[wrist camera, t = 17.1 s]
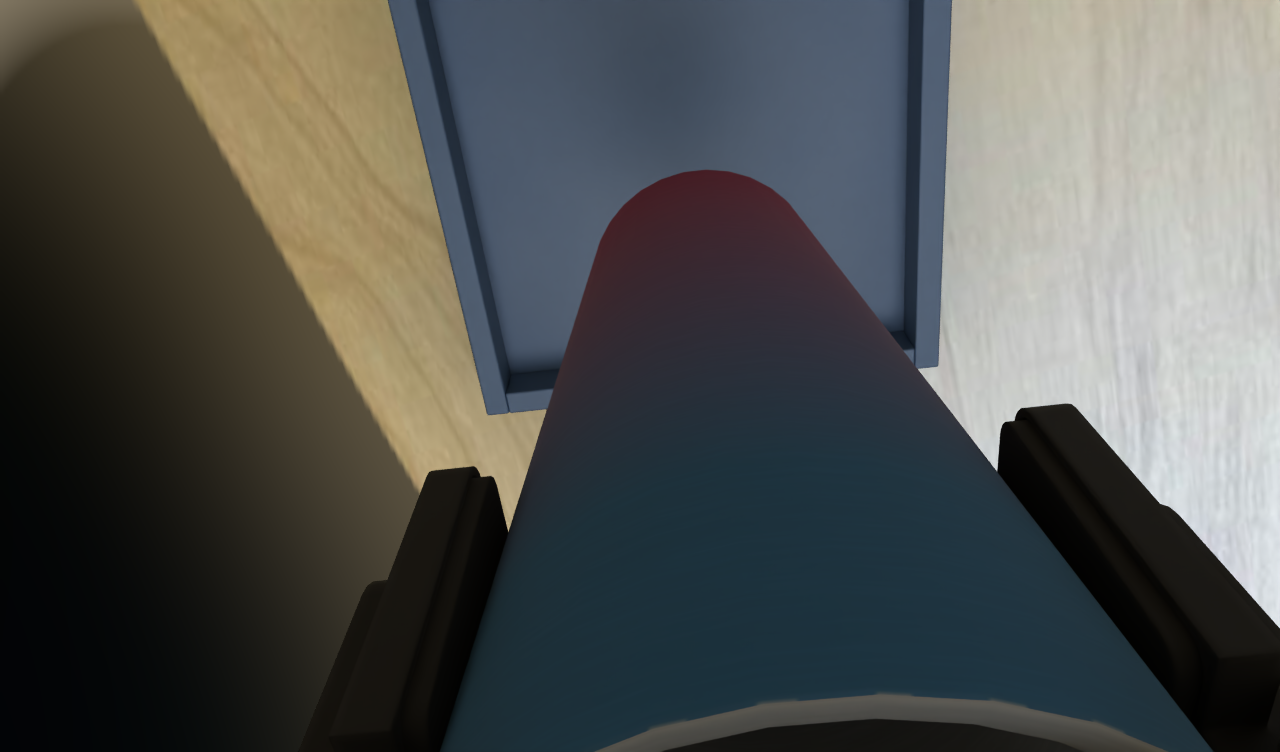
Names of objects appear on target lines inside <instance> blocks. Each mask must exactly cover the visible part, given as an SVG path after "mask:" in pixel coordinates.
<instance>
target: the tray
mask: <svg viewBox="0 0 1280 752" xmlns="http://www.w3.org/2000/svg"><path fill="white" fill-rule="evenodd" d="M388 3H389V8H390V12H391V16H392V20H393V24H394V28H395V33H396V37H397V41H398V45H399V49H400V53H401V58H402V62H403V66H404V70H405V74H406V78H407V83H408V87H409V91H410V95H411V99H412V103H413V108H414V112H415V116H416V120H417V124H418V128H419V133H420V137H421V141H422V145H423V149H424V153H425V157H426V162H427V166H428V170H429V174H430V178H431V182H432V187H433V191H434V195H435V199H436V203H437V207H438V212H439V216H440V220H441V224H442V228H443V232H444V237H445V241H446V245H447V249H448V253H449V257H450V262H451V266H452V270H453V274H454V278H455V282H456V287H457V291H458V295H459V299H460V303H461V307H462V311H463V316H464V320H465V324H466V328H467V332H468V336H469V341H470V345H471V349H472V353H473V357H474V361H475V366H476V370H477V374H478V378H479V382H480V386H481V391H482V395H483V399H484V403H485V407H486V411H487V414H488V415H496V414H505V413H509V411H510V413H515V412H524V411H533V410H542V409H547V408H548V405H549V402H550V399H551V395H552V392H553V389H554V386H555V383H556V380H557V376H558V373H559V370H560V367H561V364H562V360H563V357H564V354H565V351H566V348H567V345H568V341H569V338H570V335H571V332H572V329H573V325H574V322H575V319H576V316H577V313H578V310H579V306H580V303H581V300H582V297H583V294H584V290H585V287H586V284H587V281H588V278H589V274H590V271H591V268H592V265H593V262H594V259H595V255H596V252H597V249H598V246H599V243H600V240H601V238H602V236H603V234H604V232H605V230H606V228H607V226H608V224H609V223H610V221H611V220H612V219H613V217H614V216H615V215H616V214H617V212H618V211H619V210H620V209H621V207H622V206H623V205H624V204H625V203H626V202H628V201H629V200H630V199H631V198H632V197H633V196H635V195H636V194H637V193H638V192H639V191H641V190H642V189H644V188H646V187H648V186H650V185H651V184H653V183H655V182H657V181H659V180H661V179H663V178H667V177H670V176H673V175H676V174H679V173H682V172H689V171H698V170H719V171H730V172H733V173H737V174H740V175H744V176H747V177H751V178H753V179H755V180H757V181H759V182H761V183H762V184H764V185H766V186H768V187H770V188H772V189H773V190H774V191H775V192H776V193H778V194H779V195H780V196H781V197H783V198H784V199H785V200H786V201H787V202H788V203H789V204H790V205H791V206H792V208H793V209H794V210H795V211H796V213H797V214H798V215H799V217H800V218H801V219H802V220H803V222H804V223H805V224H806V226H807V227H808V228H809V229H810V231H811V232H812V233H813V235H814V236H815V237H816V238H817V240H818V241H819V242H820V244H821V245H822V246H823V247H824V249H825V250H826V251H827V253H828V254H829V255H830V257H831V258H832V259H833V260H834V262H835V263H836V264H837V266H838V267H839V268H840V269H841V271H842V272H843V273H844V275H845V276H846V277H847V278H848V280H849V281H850V282H851V284H852V285H853V286H854V288H855V289H856V290H857V291H858V293H859V294H860V295H861V297H862V298H863V299H864V300H865V302H866V303H867V304H868V306H869V307H870V308H871V310H872V311H873V312H874V313H875V315H876V316H877V317H878V319H879V320H880V321H881V322H882V324H883V325H884V326H885V328H886V329H887V330H888V331H889V333H890V334H891V335H892V337H893V338H894V339H895V341H896V342H897V343H898V344H899V346H900V347H901V348H902V350H903V351H904V352H905V353H906V355H907V356H908V357H909V359H910V360H911V361H912V363H913V364H914V365H915V366H916V368H917V369H920V368H930V367H937V366H938V361H939V334H940V307H941V280H942V253H943V226H944V199H945V172H946V145H947V118H948V91H949V64H950V38H951V11H952V0H388Z"/></svg>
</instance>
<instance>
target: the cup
mask: <svg viewBox="0 0 1280 752" xmlns="http://www.w3.org/2000/svg"><path fill="white" fill-rule="evenodd" d="M440 752H1213V750H1212V749H1211V748H1210V746H1209V745H1208V744H1207V742H1206V741H1205V740H1204V739H1203V737H1202V736H1201V735H1200V733H1199V732H1198V731H1197V730H1196V728H1195V727H1194V726H1193V724H1192V723H1191V722H1190V721H1189V719H1188V718H1187V717H1186V715H1185V714H1184V713H1183V711H1182V710H1181V709H1180V708H1179V706H1178V705H1177V704H1176V702H1175V701H1174V700H1173V699H1172V697H1171V696H1170V695H1169V693H1168V692H1167V691H1166V689H1165V688H1164V687H1163V686H1162V684H1161V683H1160V682H1159V680H1158V679H1157V678H1156V677H1155V675H1154V674H1153V673H1152V671H1151V670H1150V669H1149V668H1148V666H1147V665H1146V664H1145V662H1144V661H1143V660H1142V658H1141V657H1140V656H1139V655H1138V653H1137V652H1136V651H1135V649H1134V648H1133V647H1132V646H1131V644H1130V643H1129V642H1128V640H1127V639H1126V638H1125V637H1124V635H1123V634H1122V633H1121V631H1120V630H1119V629H1118V627H1117V626H1116V625H1115V624H1114V622H1113V621H1112V620H1111V618H1110V617H1109V616H1108V615H1107V613H1106V612H1105V611H1104V609H1103V608H1102V607H1101V605H1100V604H1099V603H1098V602H1097V600H1096V599H1095V598H1094V596H1093V595H1092V594H1091V593H1090V591H1089V590H1088V589H1087V587H1086V586H1085V585H1084V584H1083V582H1082V581H1081V580H1080V578H1079V577H1078V576H1077V574H1076V573H1075V572H1074V571H1073V569H1072V568H1071V567H1070V565H1069V564H1068V563H1067V562H1066V560H1065V559H1064V558H1063V556H1062V555H1061V554H1060V552H1059V551H1058V550H1057V549H1056V547H1055V546H1054V545H1053V543H1052V542H1051V541H1050V540H1049V538H1048V537H1047V536H1046V534H1045V533H1044V532H1043V531H1042V529H1041V528H1040V527H1039V525H1038V524H1037V523H1036V521H1035V520H1034V519H1033V518H1032V516H1031V515H1030V514H1029V512H1028V511H1027V510H1026V509H1025V507H1024V506H1023V505H1022V503H1021V502H1020V501H1019V500H1018V498H1017V497H1016V496H1015V494H1014V493H1013V492H1012V490H1011V489H1010V488H1009V487H1008V485H1007V484H1006V483H1005V481H1004V480H1003V479H1002V478H1001V476H1000V475H999V474H998V472H997V471H996V470H995V468H994V467H993V466H992V465H991V463H990V462H989V461H988V459H987V458H986V457H985V456H984V454H983V453H982V452H981V450H980V449H979V448H978V447H977V445H976V444H975V443H974V441H973V440H972V439H971V437H970V436H969V435H968V434H967V432H966V431H965V430H964V428H963V427H962V426H961V425H960V423H959V422H958V421H957V419H956V418H955V417H954V415H953V414H952V413H951V412H950V410H949V409H948V408H947V406H946V405H945V404H944V403H943V401H942V400H941V399H940V397H939V396H938V395H937V394H936V392H935V391H934V390H933V388H932V387H931V386H930V384H929V383H928V382H927V381H926V379H925V378H924V377H923V375H922V374H921V373H920V372H919V370H918V369H917V368H916V366H915V365H914V364H913V363H912V361H911V360H910V359H909V357H908V356H907V355H906V353H905V352H904V351H903V350H902V348H901V347H900V346H899V344H898V343H897V342H896V341H895V339H894V338H893V337H892V335H891V334H890V333H889V331H888V330H887V329H886V328H885V326H884V325H883V324H882V322H881V321H880V320H879V319H878V317H877V316H876V315H875V313H874V312H873V311H872V310H871V308H870V307H869V306H868V304H867V303H866V302H865V300H864V299H863V298H862V297H861V295H860V294H859V293H858V291H857V290H856V289H855V288H854V286H853V285H852V284H851V282H850V281H849V280H848V278H847V277H846V276H845V275H844V273H843V272H842V271H841V269H840V268H839V267H838V266H837V264H836V263H835V262H834V260H833V259H832V258H831V257H830V255H829V254H828V253H827V251H826V250H825V249H824V247H823V246H822V245H821V244H820V242H819V241H818V240H817V238H816V237H815V236H814V235H813V233H812V232H811V231H810V229H809V228H808V227H807V226H806V224H805V223H804V222H803V220H802V219H801V218H800V217H799V215H798V214H797V213H796V211H795V210H794V209H793V208H792V206H791V205H790V204H789V203H788V202H787V201H786V200H785V199H784V198H783V197H781V196H780V195H779V194H778V193H776V192H775V191H774V190H773V189H772V188H770V187H768V186H766V185H764V184H762V183H761V182H759V181H757V180H755V179H753V178H751V177H747V176H744V175H740V174H737V173H733V172H730V171H719V170H698V171H689V172H682V173H679V174H676V175H673V176H670V177H667V178H663V179H661V180H659V181H657V182H655V183H653V184H651V185H650V186H648V187H646V188H644V189H642V190H641V191H639V192H638V193H637V194H636V195H635V196H633V197H632V198H631V199H630V200H629V201H628V202H626V203H625V204H624V205H623V206H622V207H621V209H620V210H619V211H618V212H617V214H616V215H615V216H614V217H613V219H612V220H611V221H610V223H609V224H608V226H607V228H606V230H605V232H604V234H603V236H602V238H601V240H600V243H599V246H598V249H597V252H596V255H595V259H594V262H593V265H592V268H591V271H590V274H589V278H588V281H587V284H586V287H585V290H584V294H583V297H582V300H581V303H580V306H579V310H578V313H577V316H576V319H575V322H574V325H573V329H572V332H571V335H570V338H569V341H568V345H567V348H566V351H565V354H564V357H563V360H562V364H561V367H560V370H559V373H558V376H557V380H556V383H555V386H554V389H553V392H552V395H551V399H550V402H549V405H548V408H547V411H546V415H545V418H544V421H543V424H542V427H541V431H540V434H539V437H538V440H537V443H536V446H535V450H534V453H533V456H532V459H531V462H530V466H529V469H528V472H527V475H526V478H525V481H524V485H523V488H522V491H521V494H520V497H519V501H518V504H517V507H516V510H515V513H514V516H513V520H512V523H511V526H510V529H509V532H508V536H507V539H506V542H505V545H504V548H503V552H502V555H501V558H500V561H499V564H498V567H497V571H496V574H495V577H494V580H493V583H492V587H491V590H490V593H489V596H488V599H487V602H486V606H485V609H484V612H483V615H482V618H481V622H480V625H479V628H478V631H477V634H476V638H475V641H474V644H473V647H472V650H471V653H470V657H469V660H468V663H467V666H466V669H465V673H464V676H463V679H462V682H461V685H460V688H459V692H458V695H457V698H456V701H455V704H454V708H453V711H452V714H451V717H450V720H449V723H448V727H447V730H446V733H445V736H444V739H443V743H442V746H441V749H440Z"/></svg>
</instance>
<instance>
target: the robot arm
mask: <svg viewBox="0 0 1280 752" xmlns="http://www.w3.org/2000/svg"><path fill="white" fill-rule="evenodd" d="M997 472H998V474H999V475H1000V476H1001V478H1002V479H1003V480H1004V481H1005V483H1006V484H1007V485H1008V487H1009V488H1010V489H1011V490H1012V492H1013V493H1014V494H1015V496H1016V497H1017V498H1018V500H1019V501H1020V502H1021V503H1022V505H1023V506H1024V507H1025V509H1026V510H1027V511H1028V512H1029V514H1030V515H1031V516H1032V518H1033V519H1034V520H1035V521H1036V523H1037V524H1038V525H1039V527H1040V528H1041V529H1042V531H1043V532H1044V533H1045V534H1046V536H1047V537H1048V538H1049V540H1050V541H1051V542H1052V543H1053V545H1054V546H1055V547H1056V549H1057V550H1058V551H1059V552H1060V554H1061V555H1062V556H1063V558H1064V559H1065V560H1066V562H1067V563H1068V564H1069V565H1070V567H1071V568H1072V569H1073V571H1074V572H1075V573H1076V574H1077V576H1078V577H1079V578H1080V580H1081V581H1082V582H1083V584H1084V585H1085V586H1086V587H1087V589H1088V590H1089V591H1090V593H1091V594H1092V595H1093V596H1094V598H1095V599H1096V600H1097V602H1098V603H1099V604H1100V605H1101V607H1102V608H1103V609H1104V611H1105V612H1106V613H1107V615H1108V616H1109V617H1110V618H1111V620H1112V621H1113V622H1114V624H1115V625H1116V626H1117V627H1118V629H1119V630H1120V631H1121V633H1122V634H1123V635H1124V637H1125V638H1126V639H1127V640H1128V642H1129V643H1130V644H1131V646H1132V647H1133V648H1134V649H1135V651H1136V652H1137V653H1138V655H1139V656H1140V657H1141V658H1142V660H1143V661H1144V662H1145V664H1146V665H1147V666H1148V668H1149V669H1150V670H1151V671H1152V673H1153V674H1154V675H1155V677H1156V678H1157V679H1158V680H1159V682H1160V683H1161V684H1162V686H1163V687H1164V688H1165V689H1166V691H1167V692H1168V693H1169V695H1170V696H1171V697H1172V699H1173V700H1174V701H1175V702H1176V704H1177V705H1178V706H1179V708H1180V709H1181V710H1182V711H1183V713H1184V714H1185V715H1186V717H1187V718H1188V719H1189V721H1190V722H1191V723H1192V724H1193V726H1194V727H1195V728H1196V730H1197V731H1198V732H1199V733H1200V735H1201V736H1202V737H1203V739H1204V740H1205V741H1206V742H1207V744H1208V745H1209V746H1210V748H1211V749H1212V750H1213V752H1280V628H1279V627H1278V626H1277V625H1276V624H1275V623H1274V622H1273V620H1272V619H1271V618H1270V617H1269V616H1268V615H1267V614H1266V613H1265V611H1264V610H1263V609H1262V608H1261V607H1260V606H1259V605H1258V604H1257V602H1256V601H1255V600H1254V599H1253V598H1252V597H1251V596H1250V595H1249V593H1248V592H1247V591H1246V590H1245V589H1244V588H1243V587H1242V585H1241V584H1240V583H1239V582H1238V581H1237V580H1236V579H1235V578H1234V576H1233V575H1232V574H1231V573H1230V572H1229V571H1228V570H1227V569H1226V567H1225V566H1224V565H1223V564H1222V563H1221V562H1220V561H1219V560H1218V558H1217V557H1216V556H1215V555H1214V554H1213V553H1212V552H1211V551H1210V549H1209V548H1208V547H1207V546H1206V545H1205V544H1204V543H1203V542H1202V540H1201V539H1200V538H1199V537H1198V536H1197V535H1196V534H1195V533H1194V531H1193V530H1192V529H1191V528H1190V527H1189V526H1188V525H1187V524H1186V522H1185V521H1184V520H1183V519H1182V518H1181V517H1180V516H1179V515H1178V514H1177V513H1176V512H1175V511H1174V510H1172V509H1171V508H1170V507H1168V506H1165V505H1162V504H1160V503H1159V502H1158V501H1157V500H1156V499H1155V498H1154V497H1153V495H1152V494H1151V493H1150V492H1149V491H1148V490H1147V489H1146V487H1145V486H1144V485H1143V484H1142V483H1141V482H1140V481H1139V479H1138V478H1137V477H1136V476H1135V475H1134V474H1133V472H1132V471H1131V470H1130V469H1129V468H1128V467H1127V466H1126V464H1125V463H1124V462H1123V461H1122V460H1121V459H1120V458H1119V456H1118V455H1117V454H1116V453H1115V452H1114V451H1113V450H1112V448H1111V447H1110V446H1109V445H1108V444H1107V443H1106V442H1105V440H1104V439H1103V438H1102V437H1101V436H1100V435H1099V434H1098V432H1097V431H1096V430H1095V429H1094V428H1093V427H1092V426H1091V424H1090V423H1089V422H1088V421H1087V420H1086V419H1085V418H1084V416H1083V415H1082V414H1081V413H1080V412H1079V411H1078V409H1077V408H1076V407H1074V406H1073V405H1072V404H1058V405H1048V406H1039V407H1029V408H1021V409H1020V410H1019V411H1018V412H1017V414H1016V417H1015V421H1010V422H1005V423H1004V424H1003V425H1002V428H1001V433H1000V444H999V457H998V470H997ZM507 536H508V529H507V525H506V521H505V517H504V513H503V509H502V505H501V501H500V497H499V493H498V489H497V485H496V482H495V480H494V478H493V477H492V476H487V477H481V476H480V473H479V472H478V470H477V468H476V467H474V466H473V467H463V468H454V469H444V470H435V471H431V472H429V473H428V475H427V477H426V480H425V482H424V485H423V487H422V490H421V493H420V495H419V498H418V501H417V503H416V506H415V509H414V511H413V514H412V517H411V519H410V522H409V524H408V527H407V530H406V532H405V535H404V538H403V540H402V543H401V546H400V549H399V551H398V554H397V556H396V559H395V562H394V564H393V567H392V570H391V572H390V575H389V577H388V580H384V581H374V582H372V583H371V584H369V585H368V586H367V587H366V589H365V591H364V593H363V594H362V596H361V599H360V601H359V604H358V606H357V609H356V611H355V614H354V616H353V618H352V621H351V623H350V626H349V628H348V631H347V633H346V636H345V638H344V641H343V643H342V645H341V648H340V651H339V653H338V655H337V658H336V660H335V663H334V665H333V668H332V670H331V672H330V675H329V677H328V680H327V682H326V685H325V687H324V690H323V692H322V695H321V697H320V699H319V702H318V704H317V707H316V709H315V712H314V714H313V717H312V719H311V722H310V724H309V727H308V729H307V731H306V734H305V736H304V739H303V741H302V744H301V746H300V749H299V751H298V752H440V749H441V746H442V743H443V739H444V736H445V733H446V730H447V727H448V723H449V720H450V717H451V714H452V711H453V708H454V704H455V701H456V698H457V695H458V692H459V688H460V685H461V682H462V679H463V676H464V673H465V669H466V666H467V663H468V660H469V657H470V653H471V650H472V647H473V644H474V641H475V638H476V634H477V631H478V628H479V625H480V622H481V618H482V615H483V612H484V609H485V606H486V602H487V599H488V596H489V593H490V590H491V587H492V583H493V580H494V577H495V574H496V571H497V567H498V564H499V561H500V558H501V555H502V552H503V548H504V545H505V542H506V539H507Z"/></svg>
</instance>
